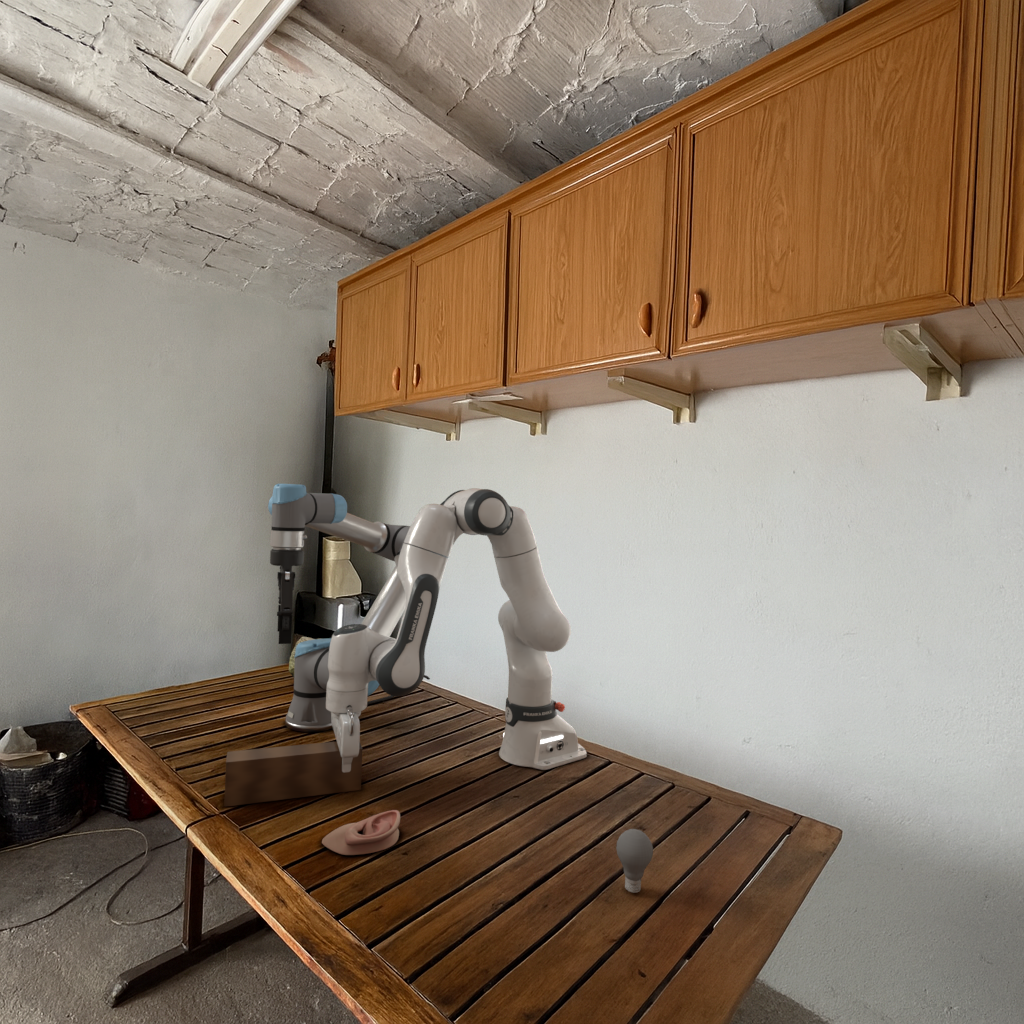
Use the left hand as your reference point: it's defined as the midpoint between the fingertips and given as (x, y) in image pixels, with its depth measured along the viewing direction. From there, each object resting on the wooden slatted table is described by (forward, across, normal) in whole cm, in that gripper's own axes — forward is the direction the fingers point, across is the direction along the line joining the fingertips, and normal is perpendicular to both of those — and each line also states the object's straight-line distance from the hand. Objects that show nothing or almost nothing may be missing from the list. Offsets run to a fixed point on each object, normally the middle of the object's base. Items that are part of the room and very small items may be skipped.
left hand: (284, 637), depth 151 cm
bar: (+29, -19, -3) cm, 35 cm away
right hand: (+24, -19, -13) cm, 33 cm away
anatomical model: (+29, -42, -14) cm, 53 cm away
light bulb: (+29, -71, -54) cm, 94 cm away
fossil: (+29, +63, -13) cm, 71 cm away
